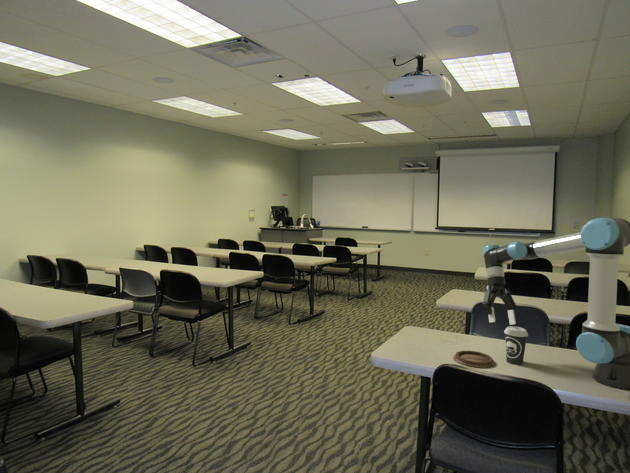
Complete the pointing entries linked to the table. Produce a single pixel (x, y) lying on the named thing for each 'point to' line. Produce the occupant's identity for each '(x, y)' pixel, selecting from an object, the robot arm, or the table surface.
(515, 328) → the coffee cup
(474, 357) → the coaster
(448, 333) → the table surface
